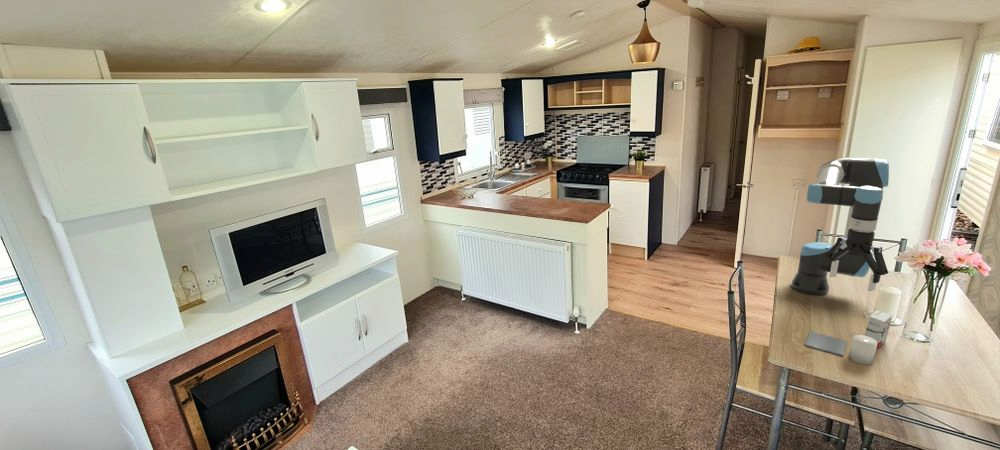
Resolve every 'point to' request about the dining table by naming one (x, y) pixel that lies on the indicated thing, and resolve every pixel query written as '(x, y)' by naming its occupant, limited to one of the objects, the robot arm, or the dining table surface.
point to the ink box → (878, 327)
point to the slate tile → (826, 343)
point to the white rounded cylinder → (863, 349)
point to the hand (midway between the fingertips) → (851, 283)
